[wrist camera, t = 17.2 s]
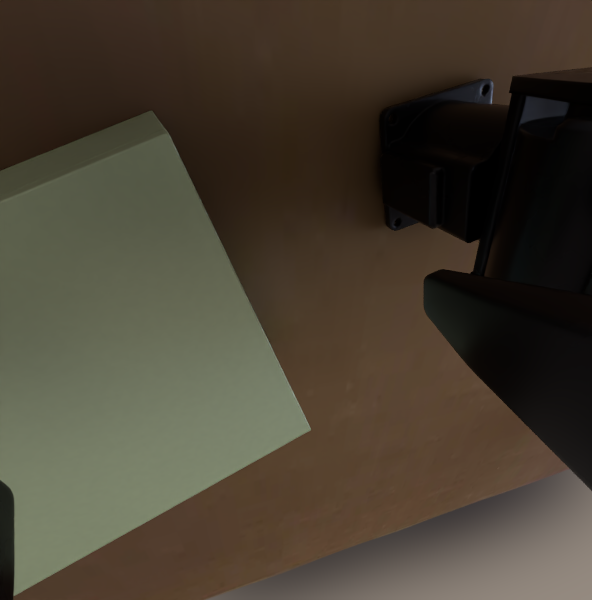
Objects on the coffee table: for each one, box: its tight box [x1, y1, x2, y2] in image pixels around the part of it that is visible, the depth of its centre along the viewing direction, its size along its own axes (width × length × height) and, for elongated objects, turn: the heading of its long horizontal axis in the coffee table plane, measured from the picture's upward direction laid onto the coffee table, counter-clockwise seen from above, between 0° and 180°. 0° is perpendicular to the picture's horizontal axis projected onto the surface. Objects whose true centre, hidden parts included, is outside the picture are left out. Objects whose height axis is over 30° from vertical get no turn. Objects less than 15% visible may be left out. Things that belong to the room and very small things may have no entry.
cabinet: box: [0, 111, 311, 596], centre depth 15 cm, size 17×14×7 cm
